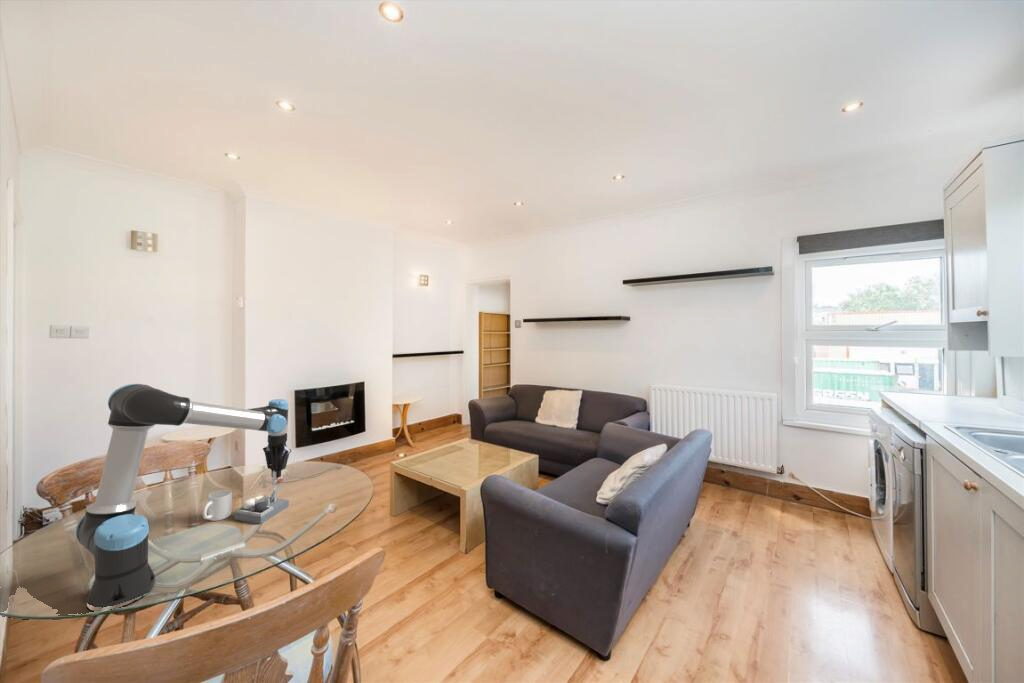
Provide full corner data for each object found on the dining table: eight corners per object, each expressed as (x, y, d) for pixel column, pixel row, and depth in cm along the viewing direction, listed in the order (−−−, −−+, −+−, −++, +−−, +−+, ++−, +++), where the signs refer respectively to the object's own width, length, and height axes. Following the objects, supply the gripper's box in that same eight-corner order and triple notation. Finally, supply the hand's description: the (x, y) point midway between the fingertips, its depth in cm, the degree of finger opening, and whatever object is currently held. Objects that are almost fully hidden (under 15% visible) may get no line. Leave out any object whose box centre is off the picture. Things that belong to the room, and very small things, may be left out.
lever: (269, 503, 173) (280, 481, 171) (266, 502, 173) (277, 479, 171) (272, 501, 175) (283, 479, 173) (270, 500, 175) (281, 477, 173)
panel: (260, 524, 162) (261, 510, 161) (234, 519, 164) (235, 506, 163) (288, 506, 177) (289, 494, 177) (264, 502, 180) (265, 490, 179)
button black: (260, 514, 163) (260, 507, 163) (252, 512, 164) (252, 505, 163) (269, 509, 167) (269, 502, 167) (260, 507, 168) (260, 501, 168)
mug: (210, 527, 157) (211, 503, 156) (194, 524, 158) (194, 500, 158) (236, 513, 169) (236, 490, 168) (220, 510, 170) (220, 488, 170)
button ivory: (248, 509, 164) (249, 502, 164) (240, 508, 165) (240, 501, 164) (257, 504, 168) (257, 498, 168) (248, 503, 169) (248, 496, 169)
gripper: (296, 432, 174) (294, 482, 175) (271, 429, 176) (270, 478, 178) (284, 437, 167) (282, 489, 168) (258, 434, 169) (256, 485, 170)
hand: (275, 483), depth 173 cm, fingers closed
